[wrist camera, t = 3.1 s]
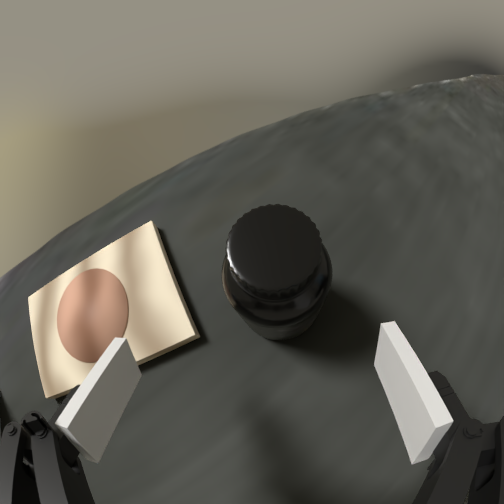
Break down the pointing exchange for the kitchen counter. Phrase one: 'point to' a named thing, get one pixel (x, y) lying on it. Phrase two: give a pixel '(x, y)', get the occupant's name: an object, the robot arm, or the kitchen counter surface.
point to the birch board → (109, 310)
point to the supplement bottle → (276, 271)
